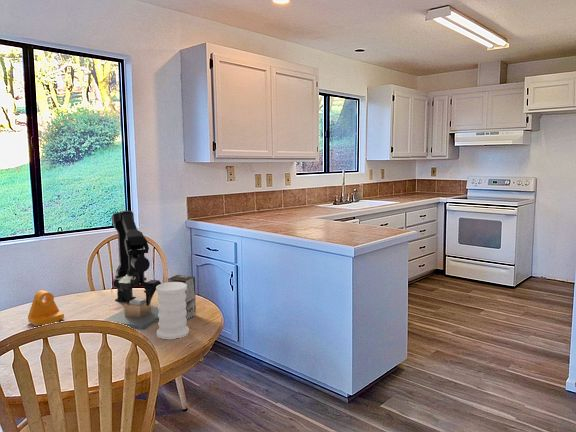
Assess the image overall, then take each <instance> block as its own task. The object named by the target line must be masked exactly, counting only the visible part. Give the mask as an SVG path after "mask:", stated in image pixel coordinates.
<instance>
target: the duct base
mask: <svg viewBox="0 0 576 432" xmlns="http://www.w3.org/2000/svg"><path fill="white" fill-rule="evenodd" d="M145 302H146V298H140V297H136V298H134V299H132V300H130V305H138V306H140V305H142V304H144V303H145ZM158 313H159V309H158V306H152V305H151V313H149V314H148V315H146V316H144V317H142V318H141V319H139V318H132V317H125V309H122V310H120V311H119V312H117V313H115V314H113V315H111V316H109V317H107V318H105V319H104V320H105V321H113V322H117V323H121V324H124V325H127V326H130V327H132V329H138V330H144V329H145V328H147V327H149V326H150V325H152V324H154V323H155V322H157V321H159V320H158V319H159V317H158ZM153 322H154V323H153ZM148 325H149V326H148ZM130 327H129V328H130Z"/></svg>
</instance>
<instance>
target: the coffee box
mask: <svg viewBox="0 0 576 432" xmlns="http://www.w3.org/2000/svg"><path fill="white" fill-rule="evenodd" d="M167 282H182V283H185V284H187V290H186V291H185V293H186V299H185V302H186V304H187V305H186V312H187V314H186V319H188V318H189V319H191V318H193V317H195V316H196V315H197V309H196V308H197V307H196V305H197V304H196V277H195V276H189V275H184V274H183V275H182V274H176V275H173V276H171V277H169V278H167ZM195 314H196V315H195ZM194 315H195V316H194ZM192 316H193V317H192ZM190 317H191V318H190ZM189 319H188V320H189Z"/></svg>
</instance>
